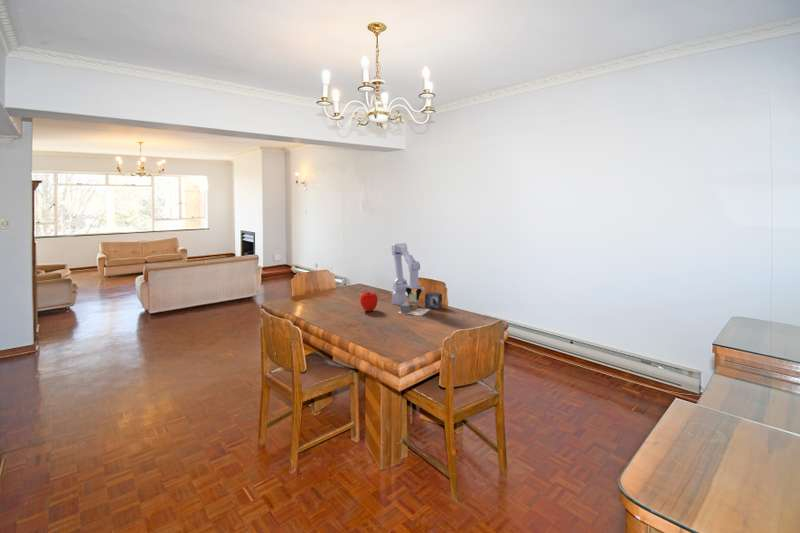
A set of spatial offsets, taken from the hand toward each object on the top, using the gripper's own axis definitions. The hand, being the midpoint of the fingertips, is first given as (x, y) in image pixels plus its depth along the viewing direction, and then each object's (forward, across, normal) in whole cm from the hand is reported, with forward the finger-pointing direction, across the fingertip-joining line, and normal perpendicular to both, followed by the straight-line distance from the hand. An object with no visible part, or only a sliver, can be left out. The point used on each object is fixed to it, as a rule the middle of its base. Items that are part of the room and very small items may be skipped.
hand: (413, 299), depth 269 cm
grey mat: (+8, +1, -1) cm, 8 cm away
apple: (+9, -28, -12) cm, 32 cm away
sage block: (+1, 0, 0) cm, 1 cm away
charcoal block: (+8, -4, -5) cm, 10 cm away
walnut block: (+8, -3, +3) cm, 9 cm away
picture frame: (+8, +9, +14) cm, 19 cm away
